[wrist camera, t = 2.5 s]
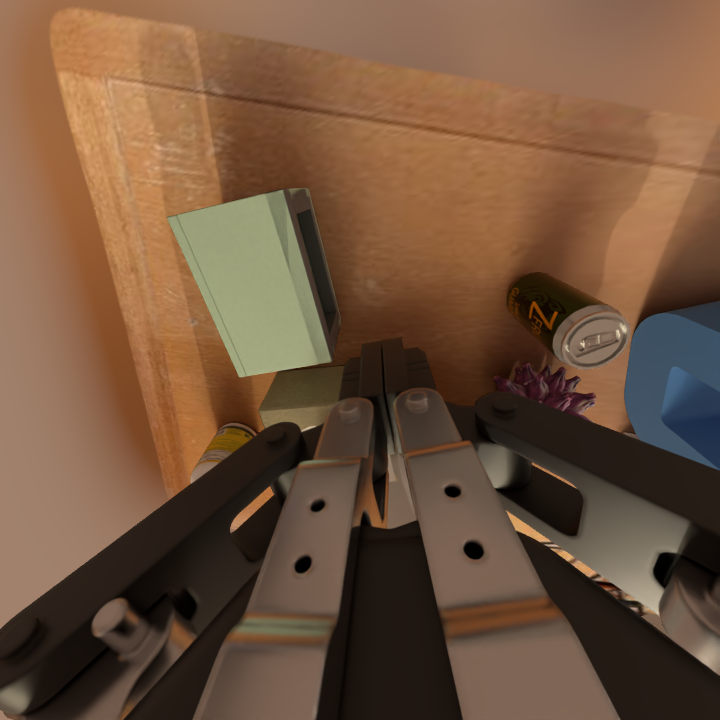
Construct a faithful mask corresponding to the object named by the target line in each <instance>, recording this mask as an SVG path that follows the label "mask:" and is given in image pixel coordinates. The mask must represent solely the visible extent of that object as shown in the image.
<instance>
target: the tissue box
mask: <svg viewBox="0 0 720 720" xmlns="http://www.w3.org/2000/svg"><path fill="white" fill-rule="evenodd" d="M343 369H344V366H335V367H324V368H314V369H303V370H292V371H281V372H278V373H277V374H276V376H275V378H274V380H273V382H272V384H271V386H270V388H269V390H268V392H267V394H266V396H265V398H264V400H263V402H262V404H261V406H260V408H259V410H258V411H259V414H260V417H261V419H262V422H263V425H264V428H267V427H269V426H271V425H273V424H276V423H280V422H293V423H295V424H297V425H298V426H299V427H300V430H301V432H303V431H305V430H308V429H311V428H314V427H316V426H319V425H321V424H323V423H324V422H325V418H326V415H327V413H328V411H329V409H330V408H331V407H332V406H333V405H334V404H336V403H337V402H338V400H339V394H340V388H341V382H342V376H343ZM394 441H395V438H394ZM395 453H398V452H397V448H396V443H395ZM398 454H400V455H401V456H402V457H403V454H402V453H398ZM393 455H395V454H390V455H388V472H389V482H392V481H398V480H397V478H396V476H395V475H394V471H393V467H392V463H391V459H390V457H391V456H393Z"/></svg>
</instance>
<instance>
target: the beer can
mask: <svg viewBox="0 0 720 720" xmlns="http://www.w3.org/2000/svg"><path fill="white" fill-rule="evenodd" d="M506 305H507V308H508V311H509V312H510V314H511V315H512V316H513V317H514V318H515V319H516V320H517V321H518V322H520V323H521V324H522V325H523V326H524V327H525V328H526V329H527V330H528V331H529V332H530V333H531V334H532V335H533V336H534V337H535V338H537V339H538V340H539V341H540V342H541V343H542V344H543V345H544V346H545V347H546V348H547V349H548V350H549V351H550V352H551V353H552V354H554V355H555V356H556V357H557V358H558V359H559V360H560V361H562V362H564V363H566V364H568V365H570V366H572V367H574V368H576V369H584V370H588V369H596V368H599V367H601V366H604V365H607V364H608V363H610V362H611V361H613V360H614V359H616V358H617V357H618V356H619V355H620V354H621V353H622V352H623V351H624V349H625V348H626V346H627V344H628V343H629V339H630V335H631V330H630V324H629V323H628V322H627V320H626V319H625V318H624V317H623V316H622V315H621V314H620V312H619V311H618V310H616V309H614V308H613V307H611V306H609V305H607V304H605V303H603V302H601V301H599V300H597V299H595V298H593V297H591V296H589V295H587V294H585V293H583V292H581V291H580V290H578V289H576V288H574V287H572V286H570V285H568V284H566V283H564V282H562V281H560V280H558V279H556V278H554V277H552V276H550V275H548V274H546V273H541V272H536V273H530V274H527V275H525V276H523V277H521V278H519V279H518V280H517V281H516V282H514V283H513V285H512V286H511V288H510V289H509V292H508V294H507V303H506Z"/></svg>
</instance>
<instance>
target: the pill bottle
mask: <svg viewBox="0 0 720 720" xmlns="http://www.w3.org/2000/svg"><path fill="white" fill-rule="evenodd" d="M256 435H257V434H256V433H255V432H254V431H253V430H252V429H251V428H249V427H248V426H246V425H243V424H239V423H229V424H226V425H224V426H222V427H221V428H220V429H219V430H218V432H217V433H216V435H215V436H214V438H213V439H212V441H211V443H210V444H209V446H208V447H207V449H206V451H205V452H204V454H203V455H202V457H201V459H200V460H199V462H198V463H197V465H196V466H195V468H194V470H193V472H192V474H191V484H192V483H193V482H194V481H196V480H197V479H198V478H200V477H201V476H202V475H204V474H205V473H206V472H208V471H209V470H210V469H212V468H213V467H214V466H216V465H217V464H218V463H220V462H221V461H222V460H224V459H225V458H226V457H228V456H229V455H230V454H232V453H233V452H234V451H236V450H237V449H238V448H240V447H241V446H242V445H244V444H245V443H246V442H248V441H249V440H250V439H252V438H253V437H254V436H256Z"/></svg>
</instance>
